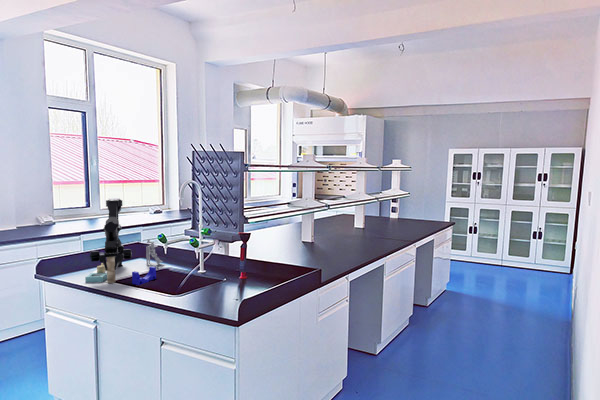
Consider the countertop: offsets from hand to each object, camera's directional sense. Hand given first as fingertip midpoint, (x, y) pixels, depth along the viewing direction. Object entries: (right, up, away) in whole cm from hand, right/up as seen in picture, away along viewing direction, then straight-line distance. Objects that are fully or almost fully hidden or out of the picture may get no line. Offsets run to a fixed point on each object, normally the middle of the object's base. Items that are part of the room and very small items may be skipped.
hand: (110, 269), depth 194 cm
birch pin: (-1, -6, +2) cm, 7 cm away
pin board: (-10, -5, +10) cm, 15 cm away
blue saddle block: (+15, -7, +4) cm, 17 cm away
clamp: (+9, -4, +35) cm, 36 cm away
